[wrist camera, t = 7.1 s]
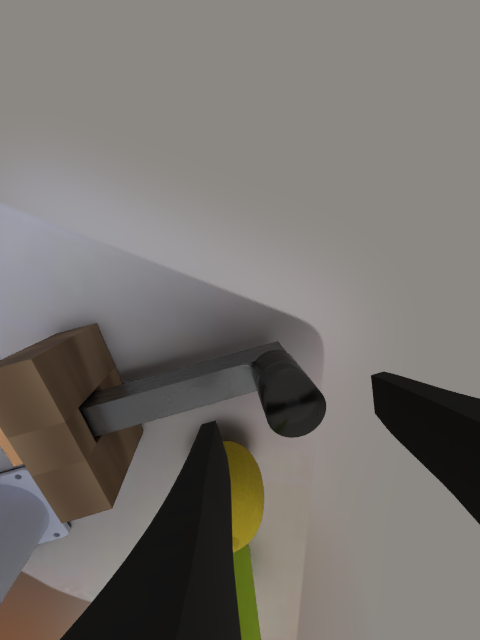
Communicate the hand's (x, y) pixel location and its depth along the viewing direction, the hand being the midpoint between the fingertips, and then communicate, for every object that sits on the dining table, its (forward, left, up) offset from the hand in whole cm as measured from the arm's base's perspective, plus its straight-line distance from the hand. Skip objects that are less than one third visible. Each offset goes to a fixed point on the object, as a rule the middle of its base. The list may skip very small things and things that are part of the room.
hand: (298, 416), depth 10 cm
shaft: (-6, 0, -6) cm, 9 cm away
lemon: (-5, -9, -10) cm, 14 cm away
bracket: (-13, 0, -9) cm, 16 cm away
